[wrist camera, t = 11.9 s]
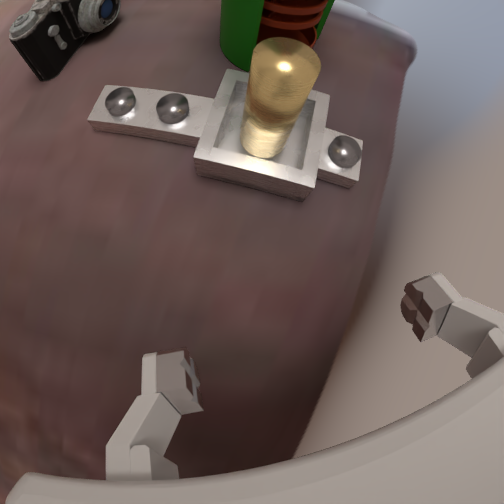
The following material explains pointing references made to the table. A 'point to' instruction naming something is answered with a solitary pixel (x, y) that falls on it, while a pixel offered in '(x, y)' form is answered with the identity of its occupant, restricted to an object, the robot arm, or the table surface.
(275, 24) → the motor
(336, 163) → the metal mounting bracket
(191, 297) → the table surface
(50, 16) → the camera
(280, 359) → the table surface
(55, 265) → the table surface
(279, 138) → the link pin
